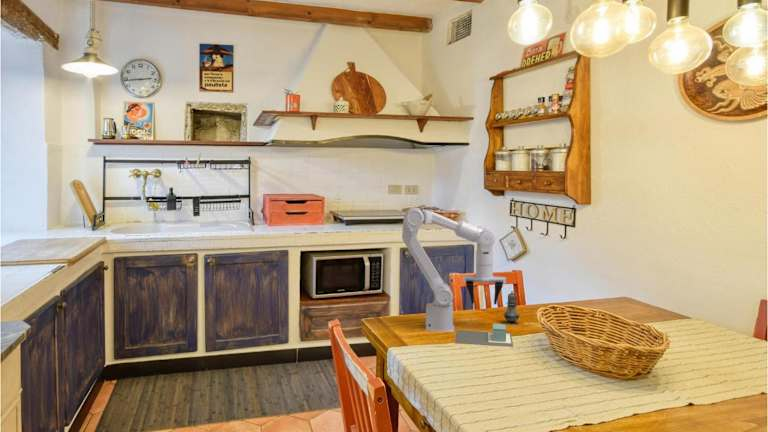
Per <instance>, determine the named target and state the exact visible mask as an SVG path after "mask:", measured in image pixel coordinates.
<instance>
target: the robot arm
mask: <svg viewBox="0 0 768 432" xmlns="http://www.w3.org/2000/svg"><path fill="white" fill-rule="evenodd" d="M402 220H403V221H402V235H401V239H402V241H403V243H404V244H405V246H406V248H407V249H408V251H409V253H410V255H411V256H412V257H413V260H414V261H415V263H416V264H417V266H418V268H419V270H420V271H421V273H422V275H423V276H424V277H425V279H426V281H427V282H428V284H429V287H430V289H431V291H432V293H433V297H434V299H433V301H432V303H429V302H428V303H426V308H425V330H426V331H432V332H433V331H434V332H451V333H453V332H454V330H455V324H454V302H453V300H454V294H453V291H452V288H451V287H450V285H449V284H448V283H446V282H445V281H444V280H443V279H442V277H441V276H440V274H439V273H438V271H437V269H436V268H435V266H434V264H433V263H432V260H431V258H430V257H429V256H428V253H427V252H426V251H425V249H424V248H423V246H422V244H421V243H420V241H419V239H418V238H417V236H418V232H419V229H420V227H421V226H422V225H423V223H424V225H428V224H434V225H438V226H441V227H443V228H446V229H449V230H452V231H454V233H455V235H456V237H459V238H461V239H465V240H467V241H470V242H471V243H476V251H475V253H476V254H475V256H476V257H475V259H476V260H475V274H474V275H463V276H462V283H465V287H467V288H466V289H467V291H468V293H469V296H470V303H471V304H474V303H475V301H474V283H484V284H485V283H488V284H494V298H493V300H494V301H493V305H497V302H498V298H499V295H500V293H501V291H502V290H503V289H502V288H503V286H504V285H506V284H507V277H506V276H505V277H504V276H494V244H495V242H496V238H495V235H494V234H493V232H492V231H490V230H489V229H487V228H486V227H485V228H484V227H483V226H482V225H479V226H478V225H476V224H473V223H472V222H471V221H470V220H468V219H466V220H460V221H455V220H453V219H450V218H448V217H446V216H444V215H441V214H439V213H436V212H434V211H433V210H432V211H431V210H427V209H424V208H422V209H421V208H419V207H416V206H413V207H409V208H408V209H407V210H406V212H405V214H404V217H403V219H402ZM503 284H504V285H503Z"/></svg>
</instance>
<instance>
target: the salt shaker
mask: <svg viewBox="0 0 768 432" xmlns="http://www.w3.org/2000/svg"><path fill="white" fill-rule="evenodd" d="M506 305H507V307H506V311H504V312H503V313H502V315H504V316H503V317H504V319H505V320H506V321H503V324H505V325H516V326H519V325H518V323H519V322H518V320H519V318H520V316H521V313H519V312H517V305H518V303H517V295H516V294H515V293H514V291H513V290H512V291H511V293H508V294H507V302H506Z"/></svg>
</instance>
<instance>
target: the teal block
mask: <svg viewBox="0 0 768 432" xmlns="http://www.w3.org/2000/svg"><path fill="white" fill-rule="evenodd" d="M492 332H493V341H497V342H506V333H507V327H506V324H504V323H492Z"/></svg>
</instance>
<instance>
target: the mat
mask: <svg viewBox="0 0 768 432" xmlns="http://www.w3.org/2000/svg"><path fill="white" fill-rule="evenodd" d="M455 333H456V334H455V338H454V339H455V340H454V344H462V345H463V344H464V345H475V346H494V347H507V348H508V347H509V348H510V347H511V348H514V342H513V337H512V333H510V332H506V342H497V341H493V331H477V330H476V331H475V330H464V329H463V330H461V329H456V332H455Z"/></svg>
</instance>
